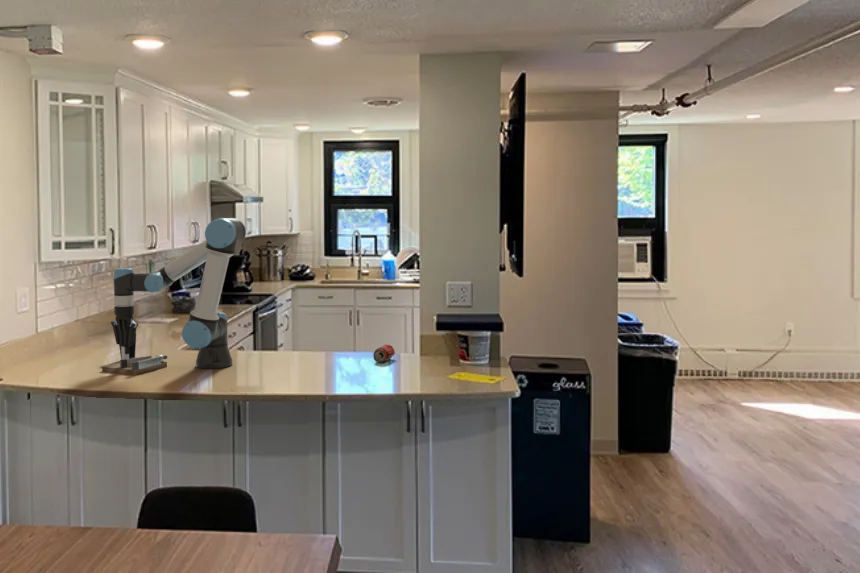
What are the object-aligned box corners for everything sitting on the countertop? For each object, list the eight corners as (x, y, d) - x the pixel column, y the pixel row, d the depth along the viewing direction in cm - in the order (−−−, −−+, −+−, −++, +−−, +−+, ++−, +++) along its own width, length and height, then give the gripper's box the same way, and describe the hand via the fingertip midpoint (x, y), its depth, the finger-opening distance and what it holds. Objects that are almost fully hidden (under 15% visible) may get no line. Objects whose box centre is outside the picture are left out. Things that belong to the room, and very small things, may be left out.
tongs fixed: (169, 361, 324) (169, 354, 323) (134, 370, 305) (134, 363, 305) (162, 360, 325) (162, 353, 325) (127, 369, 307) (127, 362, 307)
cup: (130, 362, 332) (129, 335, 331) (115, 361, 334) (114, 334, 332) (140, 359, 340) (139, 332, 338) (125, 358, 341) (124, 332, 340)
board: (167, 366, 323) (166, 362, 322) (135, 375, 306) (134, 370, 306) (135, 363, 330) (134, 358, 330) (102, 371, 313) (101, 366, 313)
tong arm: (152, 362, 320) (151, 355, 319) (121, 367, 310) (121, 360, 310) (150, 362, 321) (150, 355, 320) (120, 366, 311) (119, 359, 311)
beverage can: (371, 363, 328) (371, 348, 328) (380, 358, 340) (379, 344, 339) (387, 364, 327) (387, 349, 326) (395, 359, 338) (395, 344, 338)
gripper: (142, 305, 313) (144, 361, 315) (119, 303, 318) (120, 358, 320) (128, 307, 306) (130, 364, 308) (105, 305, 311) (106, 361, 313)
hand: (125, 361), depth 314 cm, fingers closed
